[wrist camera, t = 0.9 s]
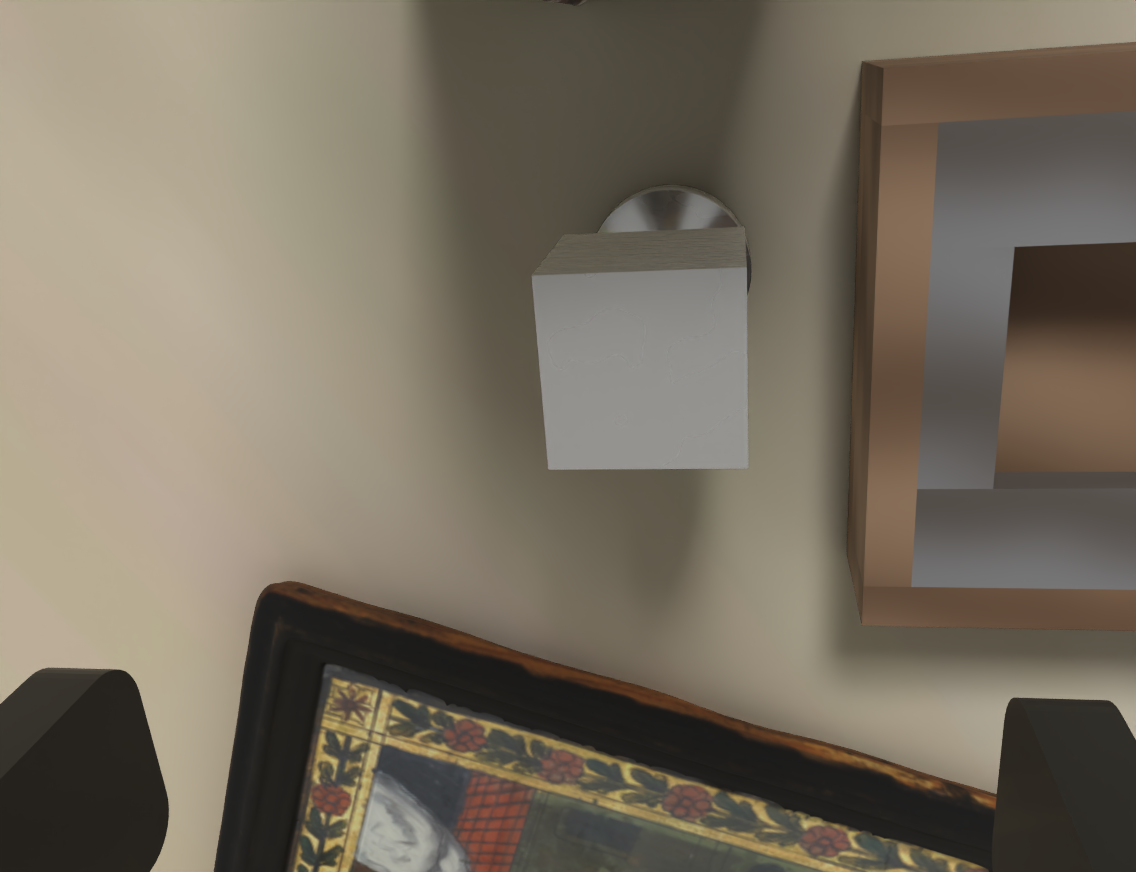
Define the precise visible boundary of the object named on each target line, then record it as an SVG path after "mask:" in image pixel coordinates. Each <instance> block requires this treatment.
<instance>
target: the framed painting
mask: <svg viewBox="0 0 1136 872" xmlns="http://www.w3.org/2000/svg"><path fill="white" fill-rule="evenodd" d="M996 798H997V795H996V794H994V793H990V792H987V791H984V790H980V789H977V788H974V787H971V786H967V785H963V784H960V783H956V782H952V781H948V780H945V779H941V778H938V777H935V776H932V775H929V774H925V773H922V772H919V771H916V770H913V769H910V768H907V767H904V766H901V765H898V764H895V763H892V762H889V761H886V760H883V759H880V758H877V757H874V756H870V755H867V754H864V753H861V752H858V751H855V750H852V749H848V748H844V747H841V746H837V745H833V744H829V743H826V742H823V741H819V740H815V739H810V738H806V737H802V736H797V735H793V734H789V733H785V732H780V731H776V730H772V729H768V728H764V727H761V726H757V725H753V724H750V723H747V722H744V721H741V720H737V719H734V718H731V717H727V716H724V715H721V714H719V713H716V712H714V711H711V710H708V709H706V708H702V707H700V706H697V705H694V704H691V703H689V702H686V701H684V700H681V699H678V698H675V697H673V696H670V695H667V694H664V693H661V692H658V691H655V690H651V689H648V688H645V687H642V686H638V685H635V684H631V683H627V682H624V681H620V680H616V679H612V678H609V677H605V676H601V675H597V674H593V673H590V672H586V671H582V670H579V669H575V668H572V667H568V666H565V665H561V664H557V663H554V662H550V661H547V660H544V659H541V658H538V657H534V656H531V655H528V654H524V653H521V652H518V651H515V650H512V649H509V648H506V647H503V646H500V645H497V644H494V643H492V642H489V641H486V640H483V639H480V638H478V637H475V636H472V635H470V634H467V633H464V632H461V631H458V630H455V629H452V628H449V627H446V626H443V625H440V624H436V623H433V622H430V621H427V620H424V619H420V618H417V617H414V616H410V615H407V614H403V613H399V612H396V611H392V610H388V609H384V608H380V607H377V606H373V605H370V604H366V603H363V602H359V601H356V600H353V599H350V598H347V597H344V596H341V595H338V594H334V593H331V592H328V591H325V590H322V589H319V588H316V587H313V586H310V585H306V584H303V583H299V582H292V581H287V582H282V583H274V584H270V585H269V586H267V587H266V588H265V589H264V590H263V591H262V593H261V594H260V596H259V598H258V600H257V603H256V607H255V611H254V616H253V621H252V626H251V632H250V639H249V645H248V651H247V656H246V661H245V667H244V674H243V681H242V689H241V696H240V705H239V712H238V719H237V725H236V732H235V738H234V744H233V751H232V758H231V764H230V770H229V777H228V783H227V790H226V796H225V803H224V811H223V817H222V824H221V830H220V835H219V841H218V847H217V854H216V861H215V867H214V872H993V871H992V838H993V828H994V818H995V808H996Z"/></svg>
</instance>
